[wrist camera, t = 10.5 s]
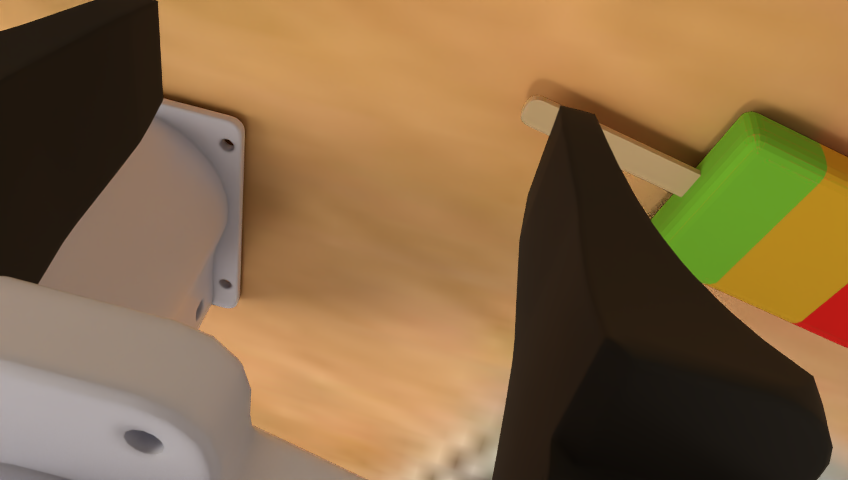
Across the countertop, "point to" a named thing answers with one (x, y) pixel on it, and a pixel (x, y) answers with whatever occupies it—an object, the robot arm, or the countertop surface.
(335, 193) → the countertop surface
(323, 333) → the countertop surface
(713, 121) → the countertop surface
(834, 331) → the popsicle
